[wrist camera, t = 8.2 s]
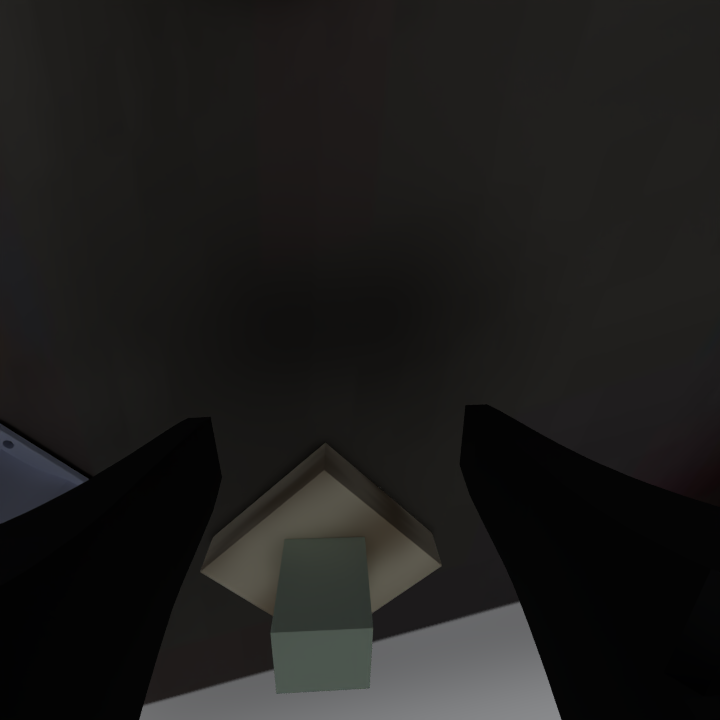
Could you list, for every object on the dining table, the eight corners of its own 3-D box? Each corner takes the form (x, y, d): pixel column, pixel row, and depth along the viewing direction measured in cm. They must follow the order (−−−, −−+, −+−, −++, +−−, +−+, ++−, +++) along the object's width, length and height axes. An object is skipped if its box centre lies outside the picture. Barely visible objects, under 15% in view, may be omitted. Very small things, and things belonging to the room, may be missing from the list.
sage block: (288, 594, 23) (276, 693, 18) (284, 539, 21) (270, 633, 16) (362, 591, 23) (369, 688, 18) (364, 536, 21) (373, 627, 17)
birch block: (215, 530, 24) (200, 571, 22) (325, 437, 22) (324, 469, 20) (324, 602, 28) (323, 646, 25) (430, 526, 25) (441, 565, 23)
